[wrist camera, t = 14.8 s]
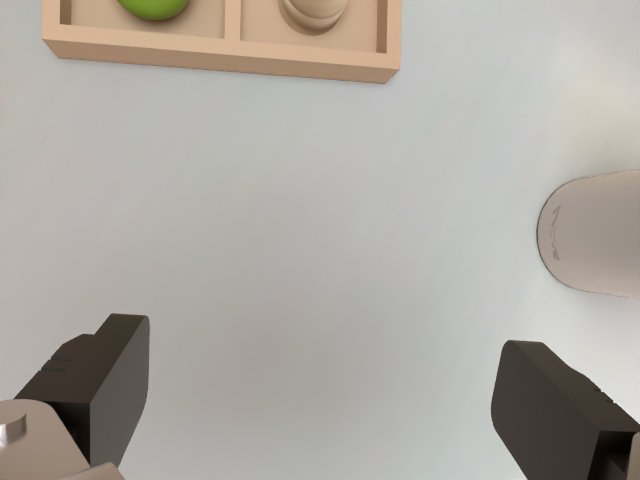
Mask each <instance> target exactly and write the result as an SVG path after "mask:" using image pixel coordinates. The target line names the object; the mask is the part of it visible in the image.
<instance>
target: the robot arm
mask: <svg viewBox="0 0 640 480" xmlns="http://www.w3.org/2000/svg"><path fill="white" fill-rule="evenodd" d="M538 246H539V249H540V253H541V257H542V259H543V261H544V263H545V265H546V267H547V268H548V269H549V271H550V272H551V273H552V274H553V276H554V277H555V278H557V279H558V280H559V281H560V282H562V283H563V284H565V285H567V286H569V287H571V288H574V289H578V290H582V291H589V292H596V293H603V294H609V295H615V296H621V297H628V298H635V299H640V169H637V170H631V171H625V172H618V173H611V174H605V175H599V176H593V177H588V178H582V179H576V180H573V181H571V182H568V183H566V184H564V185H563V186H562V187H560V188H559V189H557V190H556V191H555V192H554V193H553V195H552V196H551V197H550V198H549V199H548V201H547V203H546V204H545V206H544V208H543V210H542V213H541V216H540V219H539V225H538ZM149 333H150V325H149V318H148V316H145V315H130V314H115V313H112V314H111V315H110V316H109V317H108V318H107V319H106V321H105V322H104V323H103V324H102V326H101V327H100V328H99V329H98V331H97V332H96V333H95V334H94V335H92V334H82V335H80V336H78V337H76V338H74V339H72V340H70V341H68V342H66V343H64V344H62V346H61V347H60V348H59V349H58V350H57V351H56V352H55V353H54V354H53V356H52V357H51V360H48V361H47V362H46V363H45V364H44V366H43V367H42V368H41V371H38V372H37V373H36V374H35V376H34V377H33V378H32V379H31V380H30V381H29V382H28V383H27V384H26V386H25V387H24V388H23V389H22V390H21V391H20V392H19V393H18V394H17V396H16V397H15V398H14V399H13V400H5V401H0V480H125V479H124V478H123V476H122V475H121V473H120V472H119V470H118V466H119V464H120V462H121V460H122V457H123V455H124V453H125V451H126V448H127V446H128V444H129V442H130V439H131V437H132V435H133V433H134V430H135V428H136V426H137V424H138V421H139V419H140V417H141V415H142V412H143V410H144V406H145V402H146V397H147V391H148V373H149ZM491 416H492V422H493V425H494V428H495V430H496V432H497V433H498V435H499V436H500V438H501V439H502V441H503V443H504V444H505V446H506V447H507V449H508V450H509V452H510V453H511V455H512V456H513V458H514V459H515V461H516V462H517V464H518V466H519V467H520V469H521V470H522V472H523V473H524V475H525V476H526V478H527V479H528V480H640V425H639V424H638V423H637V422H636V421H635V420H634V419H633V418H632V417H631V416H630V415H628V414H627V413H626V412H625V411H624V410H623V409H622V408H621V407H620V406H618V405H617V404H616V403H613V400H612V399H611V398H610V397H608V396H607V395H606V394H605V393H604V392H601V389H600V388H598V387H597V386H596V385H595V384H594V383H593V382H592V381H591V380H590V379H589V378H587V377H586V376H585V375H583V374H581V373H579V372H577V371H576V370H574V369H572V368H570V367H569V366H568V365H567V364H565V363H564V362H563V361H562V360H561V359H560V358H559V357H558V356H557V355H556V354H555V353H554V352H552V351H551V350H550V349H549V348H548V347H547V346H546V345H545V344H544V343H542V342H531V341H516V340H509V341H507V342H506V343H505V344H504V346H503V349H502V352H501V357H500V362H499V367H498V372H497V377H496V382H495V387H494V392H493V397H492V402H491Z"/></svg>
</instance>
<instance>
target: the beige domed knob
mask: <svg viewBox="0 0 640 480" xmlns="http://www.w3.org/2000/svg"><path fill="white" fill-rule="evenodd" d="M348 1H349V0H278V5H279V10H280V13H281V15H282V17H283V19H284V21H285V22H286V23H287V24H288V25H289V26H290V27H291V28H292V29H293V30H295V31H297V32H299V33H301V34H304V35H309V36H316V35H321V34H324V33H326V32H328V31H329V30H330V29H332V28H333V27H334V26H335V24H336V23H337V21H338V20H339V18H340V16H341V14H342V12H343V10H344V9H345V7H346V5H347V3H348Z"/></svg>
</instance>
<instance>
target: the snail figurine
mask: <svg viewBox="0 0 640 480" xmlns="http://www.w3.org/2000/svg"><path fill="white" fill-rule="evenodd" d="M117 1H118V2H119V4H120V5H121V6H122V7H124V8H125V9H126V10H127V11H129V12H130V13H132V14H134V15H136V16H138V17H140V18H144V19H148V20H163V19H167V18H170V17H172V16H174V15H176V14H177V13H179V12H180V11H181V10H182V9H183V8H184V7H185V6H186V5H187V3H188V2H189V0H117Z"/></svg>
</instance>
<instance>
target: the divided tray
mask: <svg viewBox="0 0 640 480" xmlns="http://www.w3.org/2000/svg"><path fill="white" fill-rule="evenodd" d="M401 7H402V0H349V1H348V3H347V5H346V7H345V9H344V10H343V12H342V14H341V16H340V18H339V20H338V21H337V23H336V24H335V26H334V27H333V28H332V29H330V30H329V31H328V32H326V33H324V34H321V35H316V36H309V35H304V34H301V33H299V32H297V31H295V30H293V29H292V28H291V27H290V26H289V25H288V24H287V23H286V22H285V21H284V19H283V17H282V15H281V13H280V10H279V5H278V0H189V2H188V3H187V5H186V6H185V7H184V8H183V9H182V10H181V11H180V12H179V13H177V14H176V15H174V16H172V17H170V18H167V19H163V20H148V19H144V18H140V17H138V16H136V15H134V14H132V13H130V12H129V11H127V10H126V9H125V8H124V7H122V6H121V5H120V4H119V2H118V1H117V0H43V4H42V40H43V41H44V42H45V43H46V44H47V45H48V46H49V48H50V49H51V50H52V51H53V52H54V53H55V54H56V55H57V56H58V58H69V59H82V60H94V61H107V62H119V63H132V64H145V65H157V66H170V67H182V68H195V69H208V70H220V71H233V72H245V73H258V74H271V75H283V76H296V77H308V78H321V79H334V80H346V81H359V82H371V83H384V84H385V83H386V82H387V81H388V80H389V79H390V78H391V77H392V76H393V75H394V74H396V73H397V72H398V71H399V70H400V51H401Z"/></svg>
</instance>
